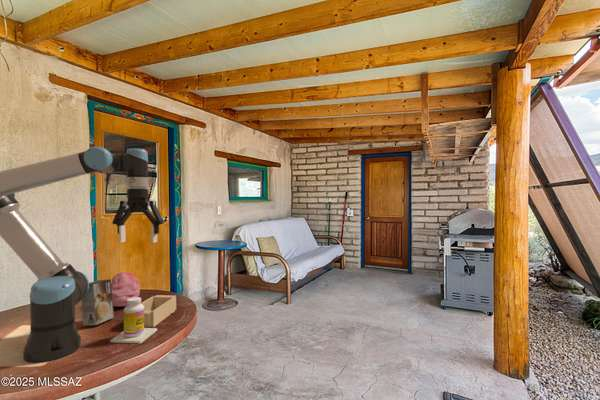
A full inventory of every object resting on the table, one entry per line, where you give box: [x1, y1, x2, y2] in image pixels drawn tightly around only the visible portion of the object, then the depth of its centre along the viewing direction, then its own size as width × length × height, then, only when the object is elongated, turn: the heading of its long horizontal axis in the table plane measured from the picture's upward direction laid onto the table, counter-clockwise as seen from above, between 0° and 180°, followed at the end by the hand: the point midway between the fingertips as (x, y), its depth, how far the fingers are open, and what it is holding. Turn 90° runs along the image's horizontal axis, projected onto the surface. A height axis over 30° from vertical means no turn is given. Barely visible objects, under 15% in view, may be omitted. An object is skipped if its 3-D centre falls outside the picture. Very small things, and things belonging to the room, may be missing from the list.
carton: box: [141, 294, 177, 328], centre depth 135 cm, size 11×23×6 cm, turn 176°
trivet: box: [110, 327, 158, 344], centre depth 117 cm, size 11×11×1 cm
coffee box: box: [80, 278, 115, 326], centre depth 130 cm, size 9×6×16 cm
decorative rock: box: [111, 271, 141, 308], centre depth 152 cm, size 19×14×15 cm
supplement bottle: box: [123, 296, 145, 337], centre depth 117 cm, size 7×7×13 cm
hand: (138, 242), depth 126 cm, fingers open, 13 cm apart
